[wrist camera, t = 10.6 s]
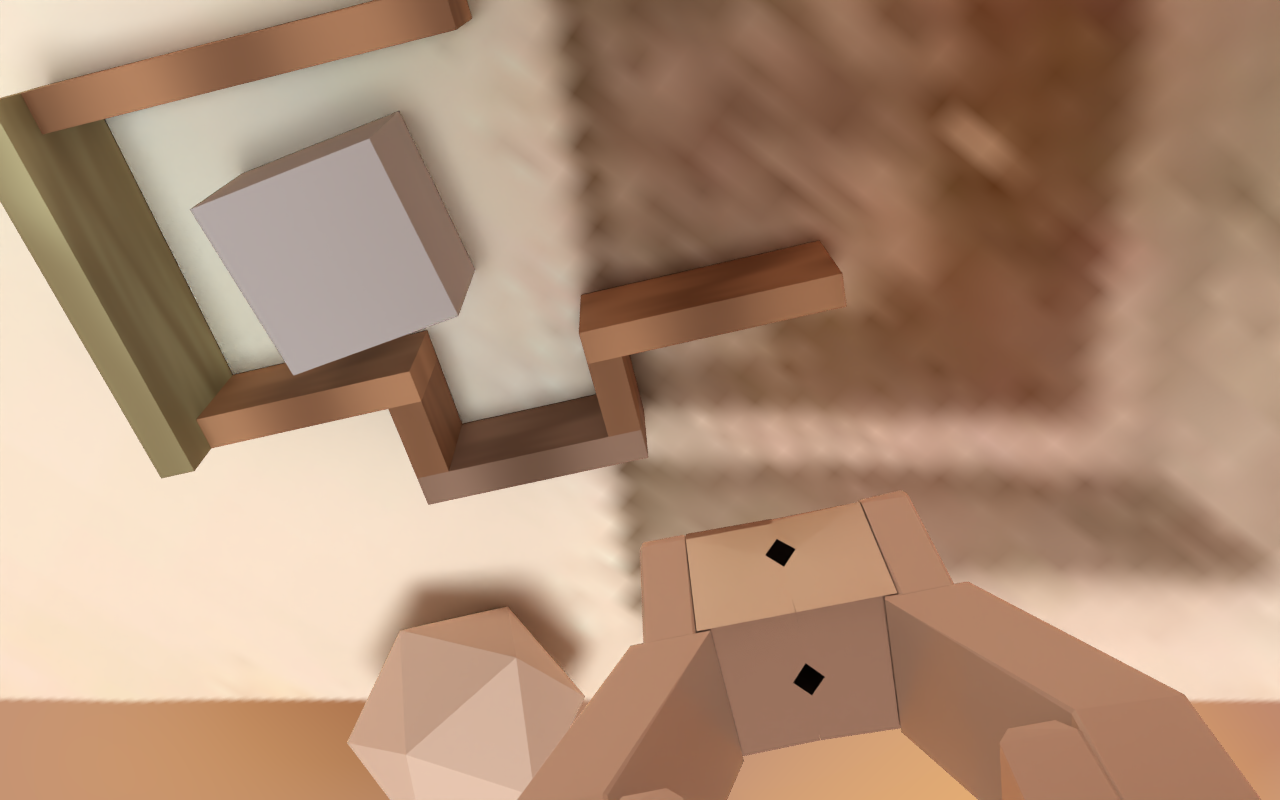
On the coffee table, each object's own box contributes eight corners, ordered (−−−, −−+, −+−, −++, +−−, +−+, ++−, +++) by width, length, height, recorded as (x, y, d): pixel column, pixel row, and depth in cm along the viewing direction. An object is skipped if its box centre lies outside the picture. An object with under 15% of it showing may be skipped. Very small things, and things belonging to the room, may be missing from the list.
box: (750, -268, 25) (781, -310, 21) (836, 369, 35) (870, 433, 31) (-26, -57, 27) (-149, -54, 23) (262, 494, 37) (215, 572, 32)
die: (375, 562, 39) (274, 800, 35) (532, 577, 35) (438, 856, 30) (488, 628, 45) (415, 839, 41) (636, 648, 41) (571, 890, 36)
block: (399, 110, 30) (368, 138, 26) (475, 268, 33) (458, 315, 29) (243, 172, 31) (189, 209, 27) (329, 321, 33) (293, 375, 29)
